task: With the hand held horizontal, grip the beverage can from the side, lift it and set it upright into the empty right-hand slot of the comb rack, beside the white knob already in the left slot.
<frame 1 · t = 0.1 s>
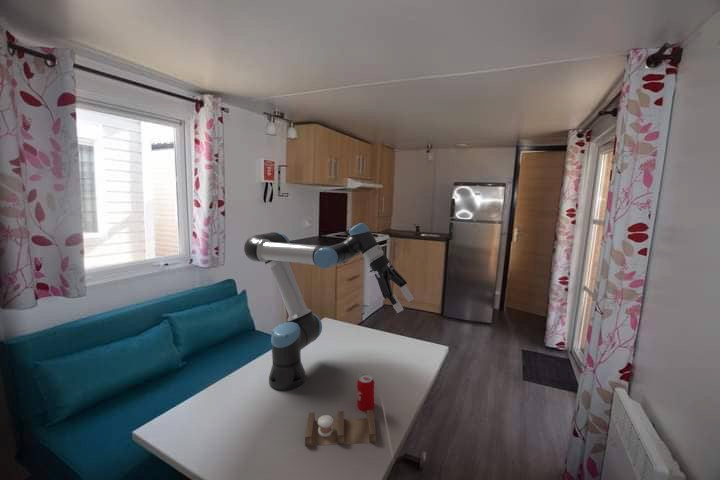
hand: (406, 305, 119), 36 cm above the table, tool tilted 35°, fingers open, 13 cm apart
beverage can: (365, 408, 115), on the table
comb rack: (340, 433, 102), on the table
white knob: (325, 431, 102), point 1 cm above the table, touching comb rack
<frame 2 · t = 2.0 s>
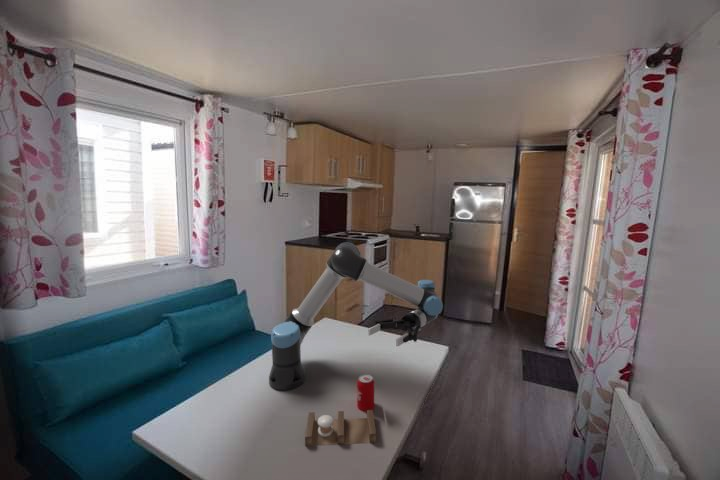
hand: (382, 337, 118), 24 cm above the table, tool horizontal, fingers open, 13 cm apart
nothing on the table moved.
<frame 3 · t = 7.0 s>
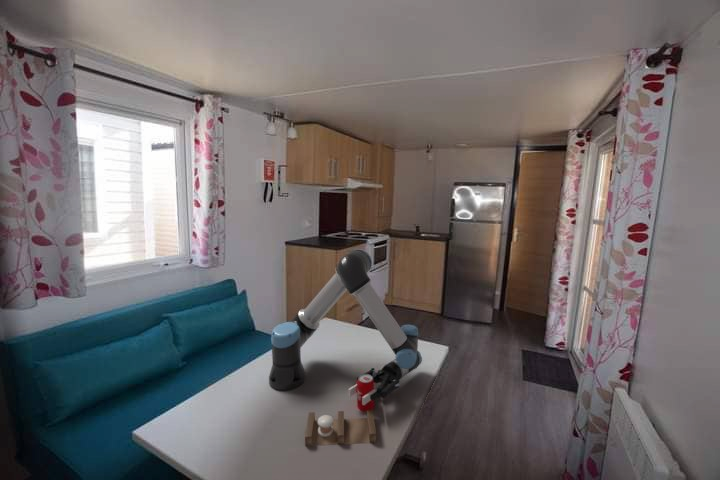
hand: (356, 397, 110), 7 cm above the table, tool horizontal, fingers closed on beverage can, 6 cm apart
beverage can: (365, 408, 115), on the table, touching gripper
everything else where it was.
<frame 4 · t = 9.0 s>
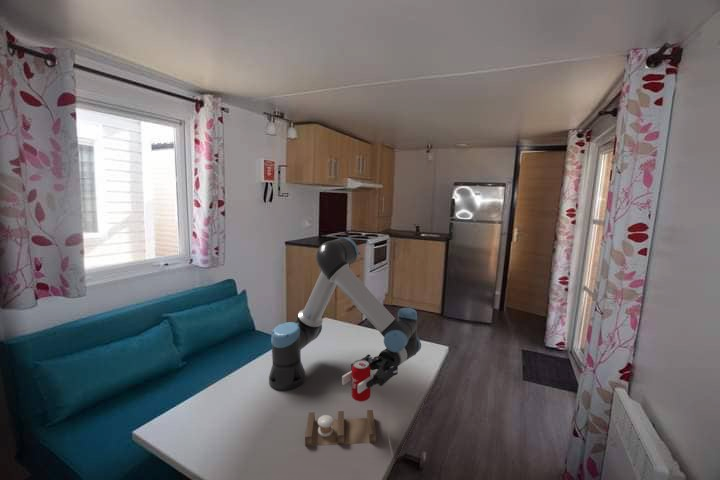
hand: (350, 384, 99), 18 cm above the table, tool horizontal, fingers closed on beverage can, 6 cm apart
beverage can: (361, 397, 104), point 11 cm above the table, touching gripper
everything else where it was.
when the fingers open (10 cm above the table, at t = 11.0 s): beverage can drops 2 cm, resting on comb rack.
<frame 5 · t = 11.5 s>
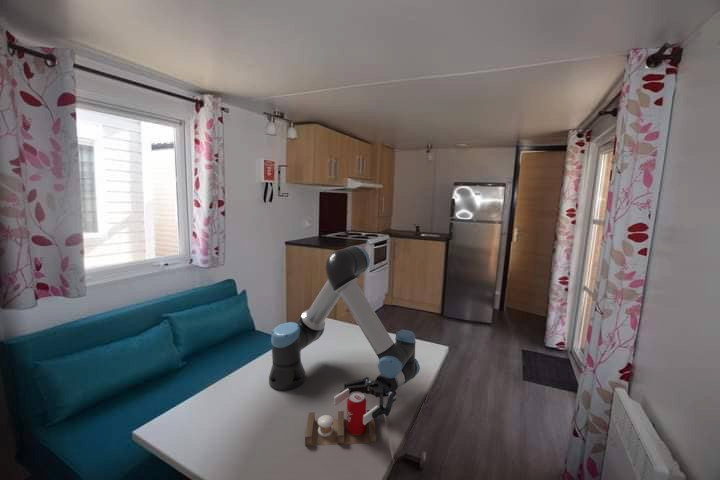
hand: (348, 410, 99), 10 cm above the table, tool horizontal, fingers open, 12 cm apart
beverage can: (356, 430, 102), point 1 cm above the table, touching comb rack
everything else where it was.
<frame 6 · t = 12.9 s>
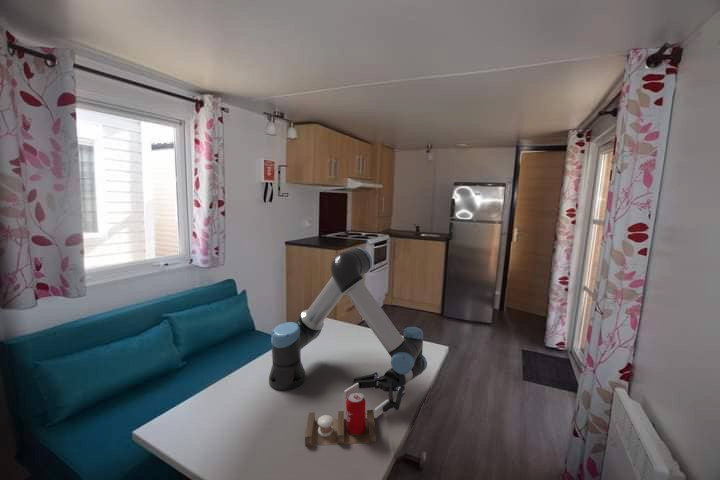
hand: (359, 403, 102), 10 cm above the table, tool horizontal, fingers open, 13 cm apart
nothing on the table moved.
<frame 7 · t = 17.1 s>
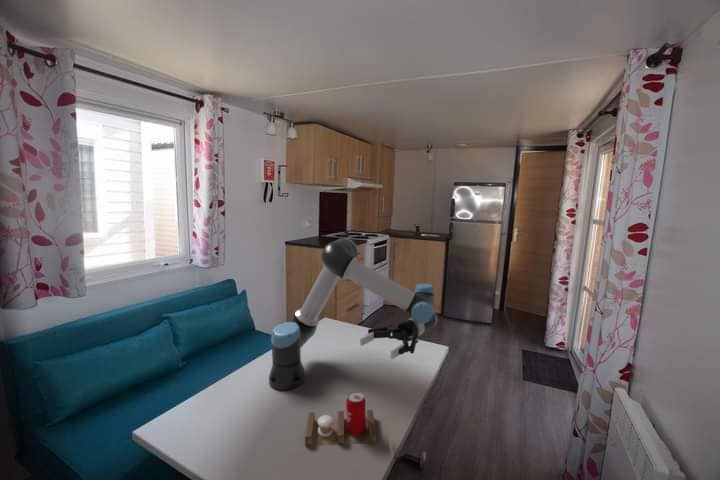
hand: (375, 348, 106), 26 cm above the table, tool horizontal, fingers open, 13 cm apart
nothing on the table moved.
at the end: beverage can 0.1 cm from the target spot on the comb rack, point 0.8 cm above the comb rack's base; beverage can tilted 0°; the gripper is holding nothing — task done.
